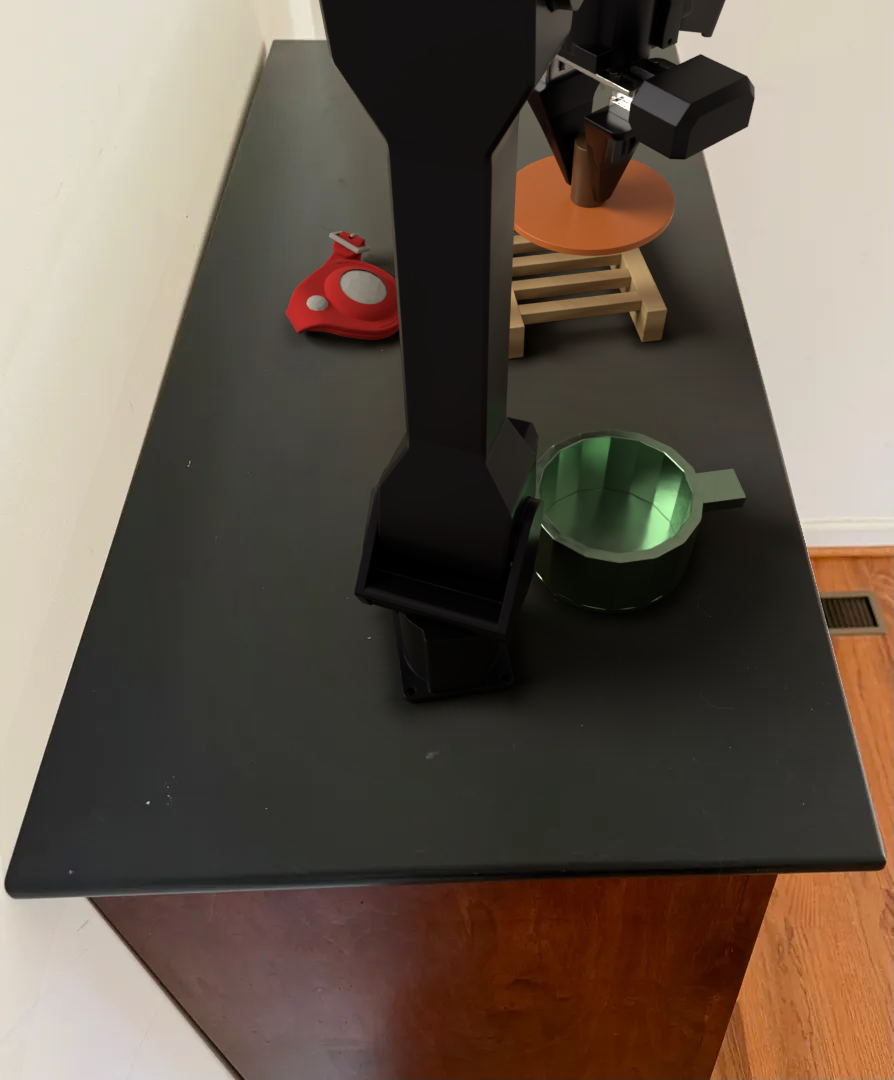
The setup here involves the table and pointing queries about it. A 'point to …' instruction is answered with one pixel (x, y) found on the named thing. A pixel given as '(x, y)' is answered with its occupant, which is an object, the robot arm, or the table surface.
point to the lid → (590, 207)
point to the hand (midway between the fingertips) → (588, 191)
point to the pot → (621, 518)
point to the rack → (624, 274)
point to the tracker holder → (346, 295)
